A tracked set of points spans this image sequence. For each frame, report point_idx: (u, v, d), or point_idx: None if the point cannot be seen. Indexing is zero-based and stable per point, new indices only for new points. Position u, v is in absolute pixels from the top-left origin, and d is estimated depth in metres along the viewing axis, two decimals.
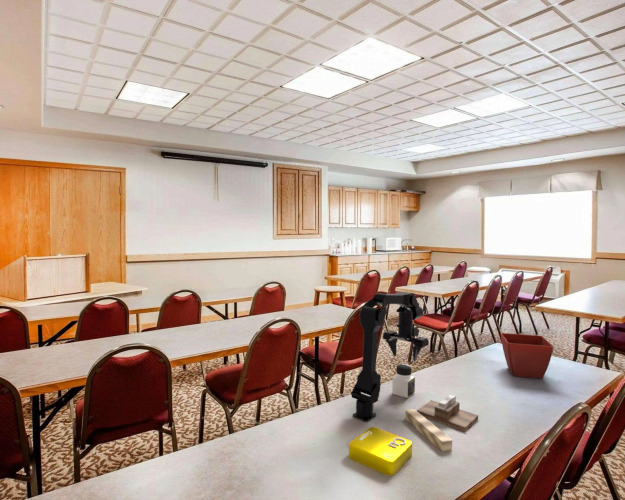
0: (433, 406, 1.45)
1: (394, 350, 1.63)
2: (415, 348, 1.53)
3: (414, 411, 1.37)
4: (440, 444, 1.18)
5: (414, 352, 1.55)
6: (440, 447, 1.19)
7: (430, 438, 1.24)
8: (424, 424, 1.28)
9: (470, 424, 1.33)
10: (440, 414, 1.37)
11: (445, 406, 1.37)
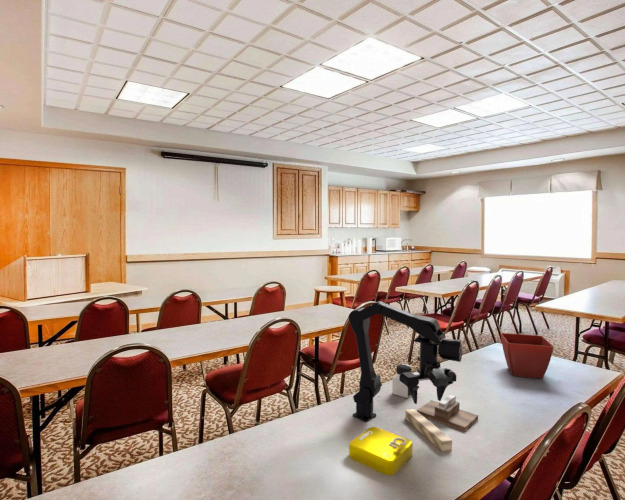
0: (433, 406, 1.45)
1: (438, 392, 1.30)
2: None
3: (414, 411, 1.37)
4: (440, 444, 1.18)
5: None
6: (440, 447, 1.19)
7: (430, 438, 1.24)
8: (424, 424, 1.28)
9: (470, 424, 1.33)
10: (440, 414, 1.37)
11: (445, 406, 1.37)
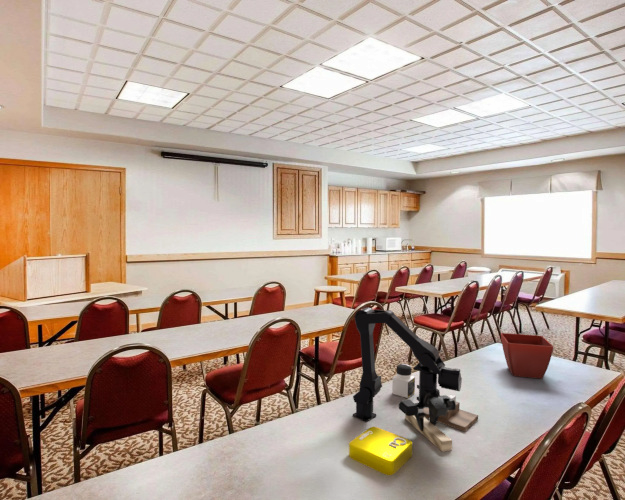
0: None
1: (430, 420, 1.30)
2: None
3: None
4: (440, 444, 1.18)
5: None
6: (440, 447, 1.19)
7: (430, 438, 1.24)
8: (424, 424, 1.28)
9: (470, 424, 1.33)
10: None
11: None
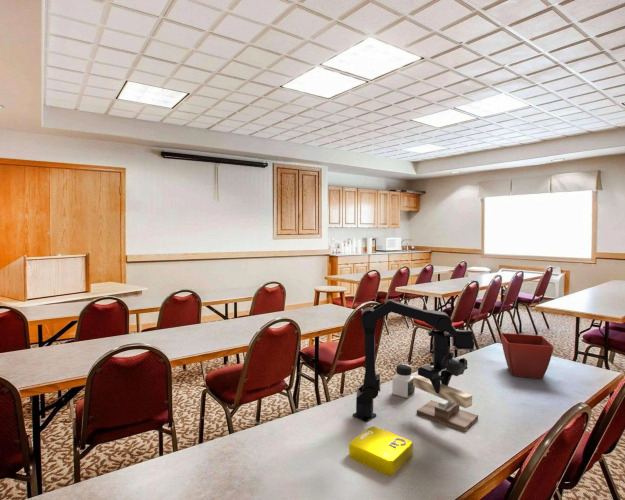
0: (433, 406, 1.45)
1: (443, 382, 1.36)
2: None
3: (421, 377, 1.43)
4: (463, 401, 1.25)
5: None
6: (463, 403, 1.26)
7: (449, 397, 1.30)
8: None
9: (470, 424, 1.33)
10: (440, 414, 1.37)
11: (445, 406, 1.37)
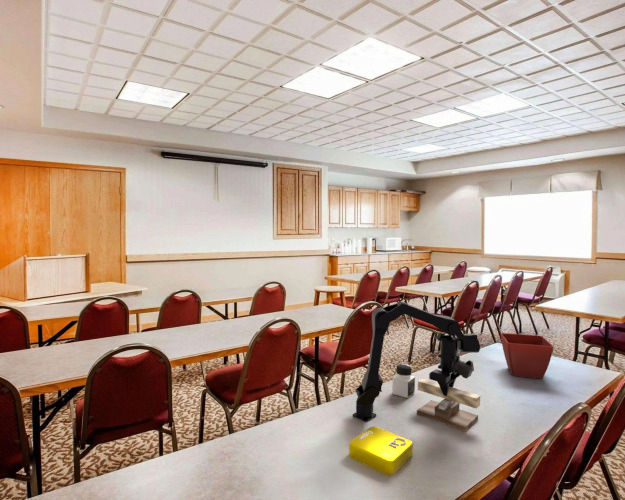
0: (433, 406, 1.45)
1: None
2: None
3: (425, 380, 1.47)
4: (474, 401, 1.32)
5: None
6: (473, 404, 1.32)
7: (458, 399, 1.35)
8: None
9: (470, 424, 1.33)
10: (440, 414, 1.37)
11: (445, 406, 1.37)
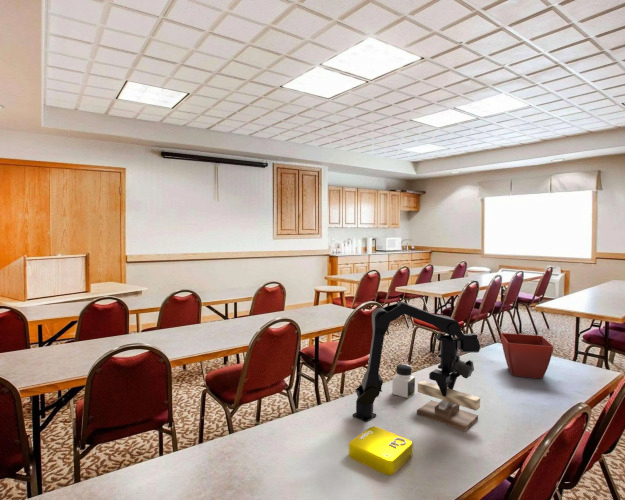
0: (433, 406, 1.45)
1: (449, 384, 1.42)
2: None
3: (425, 382, 1.47)
4: (473, 403, 1.32)
5: None
6: (473, 406, 1.32)
7: (458, 401, 1.35)
8: (447, 390, 1.39)
9: (470, 424, 1.33)
10: (440, 414, 1.37)
11: (445, 406, 1.37)
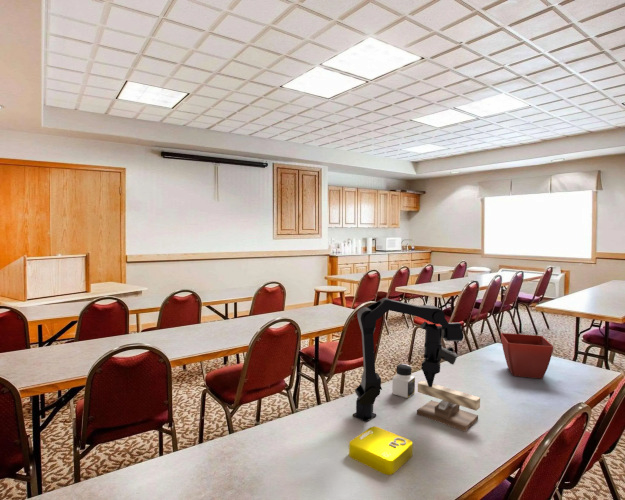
0: (433, 406, 1.45)
1: None
2: None
3: (425, 382, 1.47)
4: (473, 403, 1.32)
5: (424, 374, 1.37)
6: (473, 406, 1.32)
7: (458, 401, 1.35)
8: (447, 390, 1.39)
9: (470, 424, 1.33)
10: (440, 414, 1.37)
11: (445, 406, 1.37)
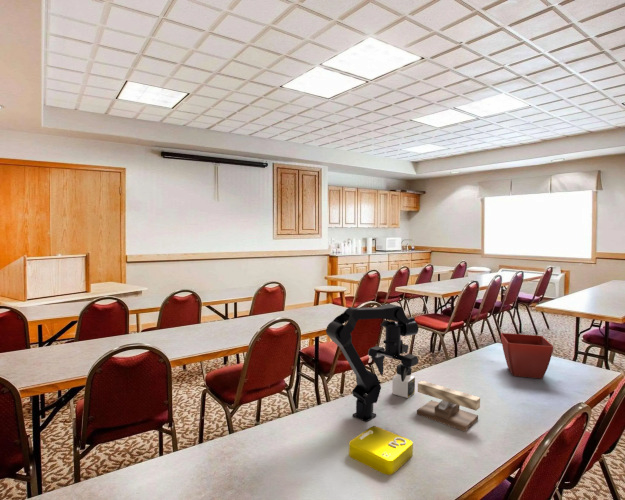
0: (433, 406, 1.45)
1: (381, 368, 1.48)
2: (403, 367, 1.39)
3: (425, 382, 1.47)
4: (473, 403, 1.32)
5: (402, 371, 1.40)
6: (473, 406, 1.32)
7: (458, 401, 1.35)
8: (447, 390, 1.39)
9: (470, 424, 1.33)
10: (440, 414, 1.37)
11: (445, 406, 1.37)
